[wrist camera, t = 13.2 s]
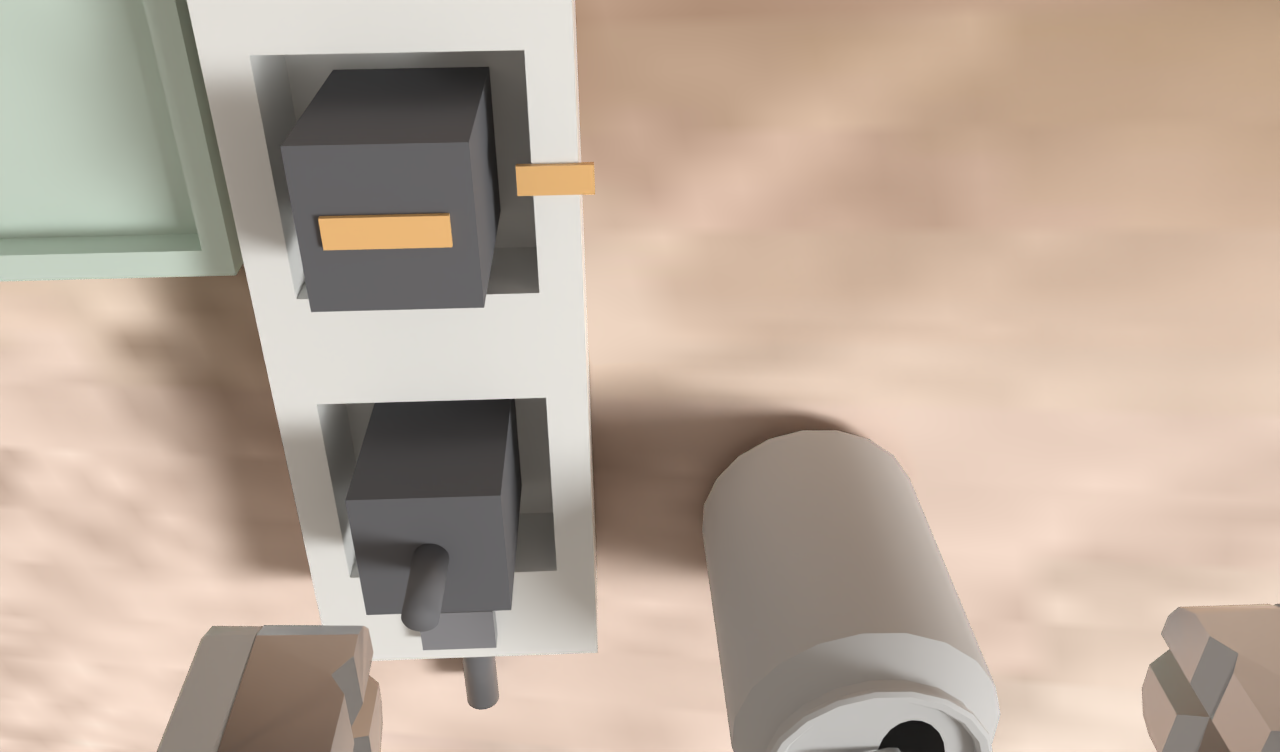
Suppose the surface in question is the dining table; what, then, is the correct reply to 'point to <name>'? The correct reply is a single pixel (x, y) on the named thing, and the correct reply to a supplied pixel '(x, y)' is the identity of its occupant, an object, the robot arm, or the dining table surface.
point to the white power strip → (425, 338)
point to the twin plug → (436, 508)
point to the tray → (108, 145)
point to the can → (838, 606)
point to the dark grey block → (396, 189)
